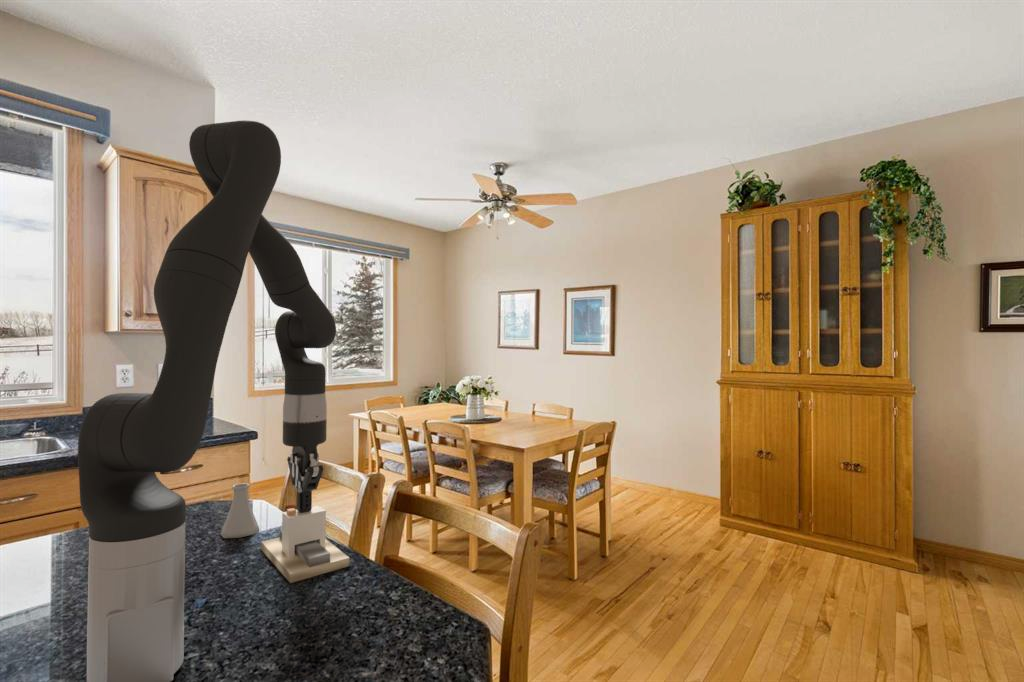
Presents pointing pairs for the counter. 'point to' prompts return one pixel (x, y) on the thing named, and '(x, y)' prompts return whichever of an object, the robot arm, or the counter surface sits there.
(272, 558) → the rail board
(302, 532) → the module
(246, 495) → the flask
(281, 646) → the counter surface
